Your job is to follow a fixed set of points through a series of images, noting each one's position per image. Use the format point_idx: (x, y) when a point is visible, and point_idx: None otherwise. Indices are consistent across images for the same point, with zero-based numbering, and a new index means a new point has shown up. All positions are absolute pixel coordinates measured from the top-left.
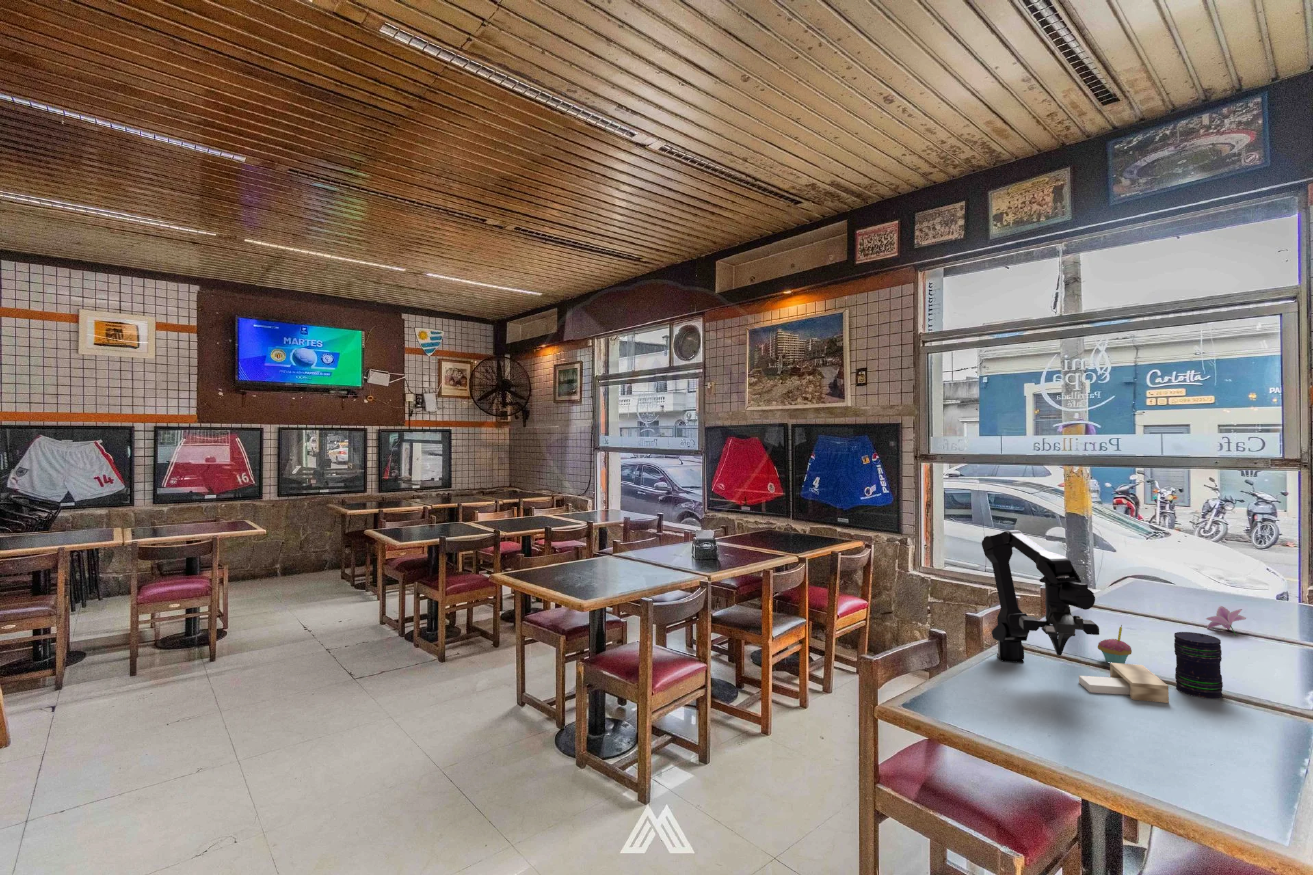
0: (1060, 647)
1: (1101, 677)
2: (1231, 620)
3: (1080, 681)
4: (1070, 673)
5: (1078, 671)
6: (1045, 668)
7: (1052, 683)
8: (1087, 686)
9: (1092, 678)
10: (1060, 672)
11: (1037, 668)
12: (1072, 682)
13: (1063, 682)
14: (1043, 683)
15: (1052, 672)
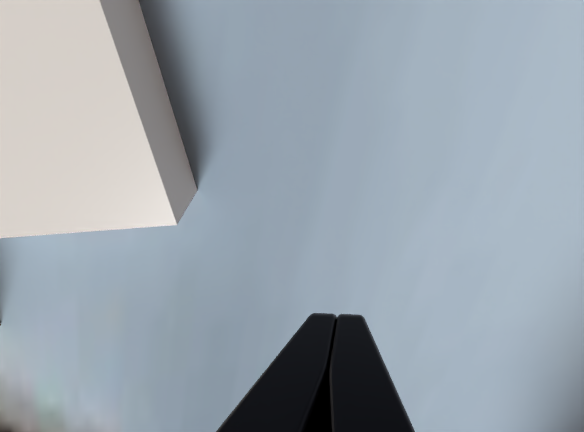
0: (301, 420)
1: (7, 226)
2: None
3: (182, 173)
4: (234, 353)
5: (180, 392)
6: None
7: (438, 99)
8: (128, 22)
9: (70, 182)
10: None
11: (448, 402)
12: (248, 177)
13: (325, 157)
14: (537, 71)
15: None
